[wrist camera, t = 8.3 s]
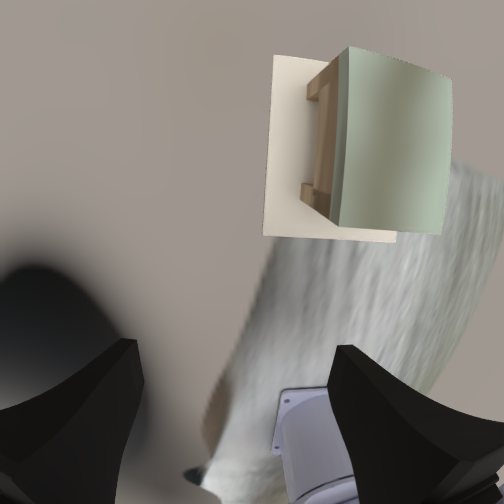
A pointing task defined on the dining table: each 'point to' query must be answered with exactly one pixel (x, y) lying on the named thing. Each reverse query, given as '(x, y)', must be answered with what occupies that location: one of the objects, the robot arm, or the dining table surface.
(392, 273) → the dining table surface
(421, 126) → the board with wooden rails
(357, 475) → the robot arm
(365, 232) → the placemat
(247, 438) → the dining table surface
